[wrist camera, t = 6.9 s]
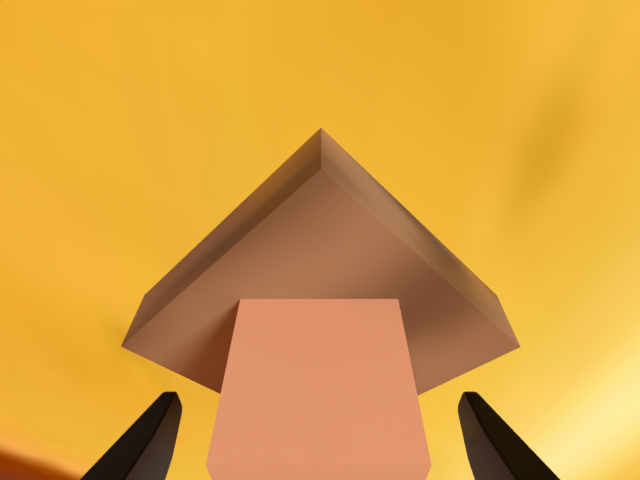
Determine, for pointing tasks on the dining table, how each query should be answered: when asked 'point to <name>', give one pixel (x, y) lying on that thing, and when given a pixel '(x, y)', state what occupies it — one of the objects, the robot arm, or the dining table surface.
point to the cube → (318, 394)
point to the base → (321, 273)
